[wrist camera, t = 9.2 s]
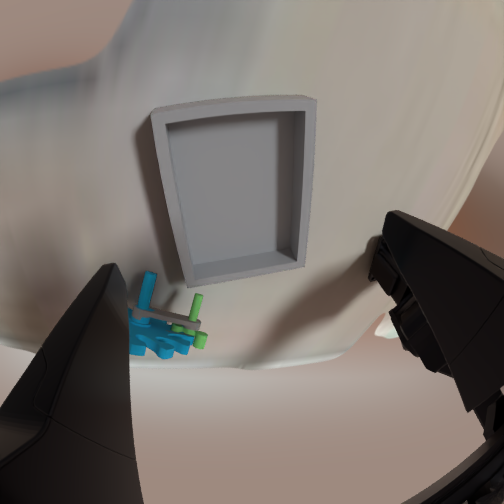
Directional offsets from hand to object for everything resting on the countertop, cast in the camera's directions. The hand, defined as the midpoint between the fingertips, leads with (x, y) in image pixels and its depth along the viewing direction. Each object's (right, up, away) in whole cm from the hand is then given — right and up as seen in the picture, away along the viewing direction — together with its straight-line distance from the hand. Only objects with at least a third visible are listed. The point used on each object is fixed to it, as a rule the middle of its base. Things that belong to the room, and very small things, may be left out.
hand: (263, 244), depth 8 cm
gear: (-11, -4, +19) cm, 22 cm away
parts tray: (-2, +5, +13) cm, 14 cm away
